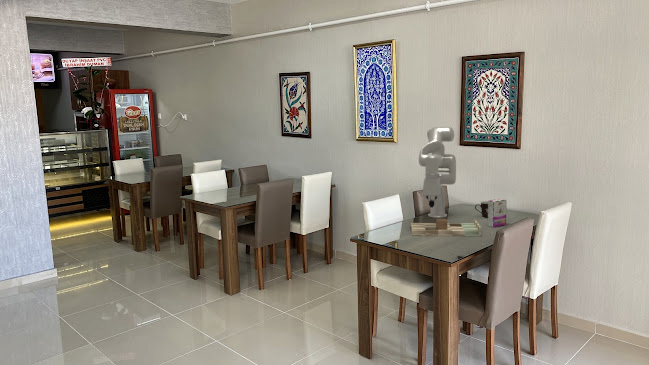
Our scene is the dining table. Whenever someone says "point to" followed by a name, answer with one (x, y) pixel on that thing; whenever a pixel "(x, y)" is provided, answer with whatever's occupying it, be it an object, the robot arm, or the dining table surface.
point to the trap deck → (451, 230)
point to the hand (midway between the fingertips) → (431, 207)
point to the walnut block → (441, 223)
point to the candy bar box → (497, 212)
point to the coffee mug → (483, 209)
